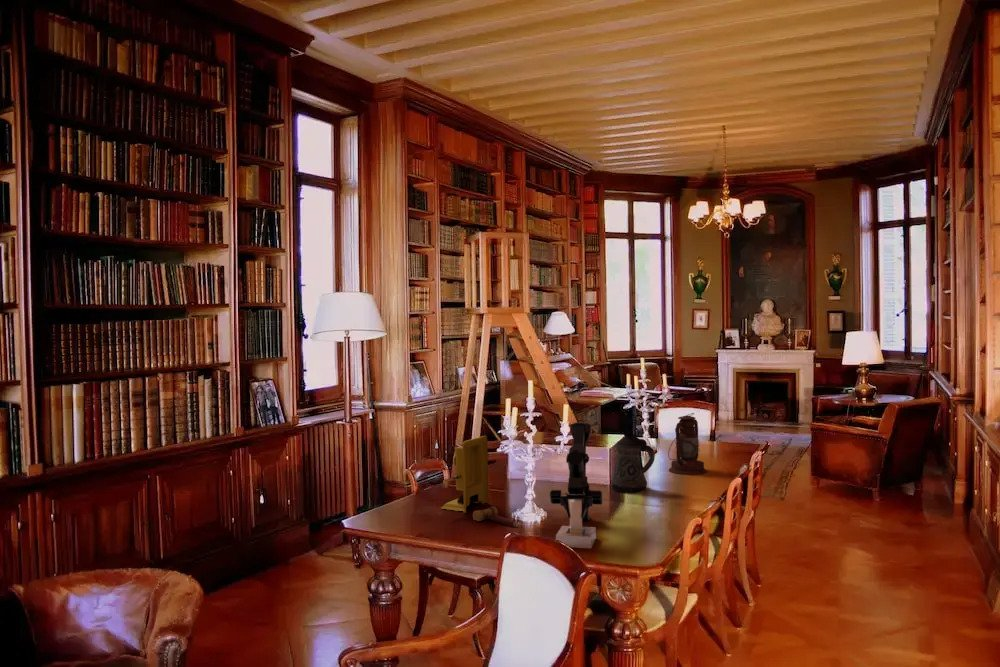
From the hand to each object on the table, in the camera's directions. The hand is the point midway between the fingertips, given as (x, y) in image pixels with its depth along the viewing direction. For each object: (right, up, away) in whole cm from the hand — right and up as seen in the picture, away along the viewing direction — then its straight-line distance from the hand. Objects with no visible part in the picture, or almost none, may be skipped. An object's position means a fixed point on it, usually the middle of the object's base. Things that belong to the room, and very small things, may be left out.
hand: (575, 517), depth 279 cm
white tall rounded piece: (0, -7, +2) cm, 7 cm away
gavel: (-27, -10, +30) cm, 42 cm away
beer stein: (+34, -6, +83) cm, 90 cm away
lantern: (+69, -5, +119) cm, 137 cm away
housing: (0, -9, +2) cm, 9 cm away
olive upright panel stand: (-42, -9, +57) cm, 71 cm away
